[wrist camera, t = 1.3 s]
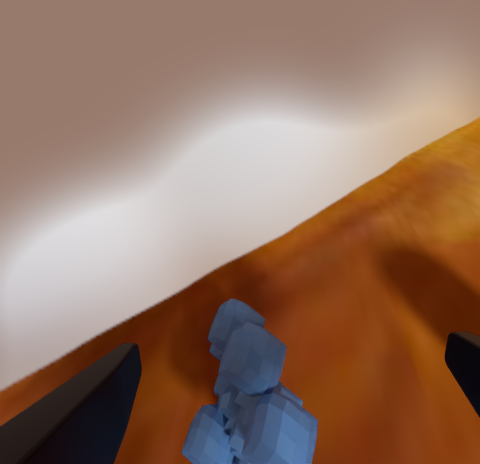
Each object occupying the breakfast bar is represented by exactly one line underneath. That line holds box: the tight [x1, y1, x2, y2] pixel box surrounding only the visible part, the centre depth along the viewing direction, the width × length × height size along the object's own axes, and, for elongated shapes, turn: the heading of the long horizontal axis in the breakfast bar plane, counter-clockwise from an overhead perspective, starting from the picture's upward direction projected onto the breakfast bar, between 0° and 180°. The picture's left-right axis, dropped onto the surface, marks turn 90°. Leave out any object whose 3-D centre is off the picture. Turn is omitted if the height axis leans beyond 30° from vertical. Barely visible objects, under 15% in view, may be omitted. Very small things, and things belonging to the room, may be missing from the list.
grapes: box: [182, 298, 318, 464], centre depth 15 cm, size 12×7×12 cm, turn 20°
